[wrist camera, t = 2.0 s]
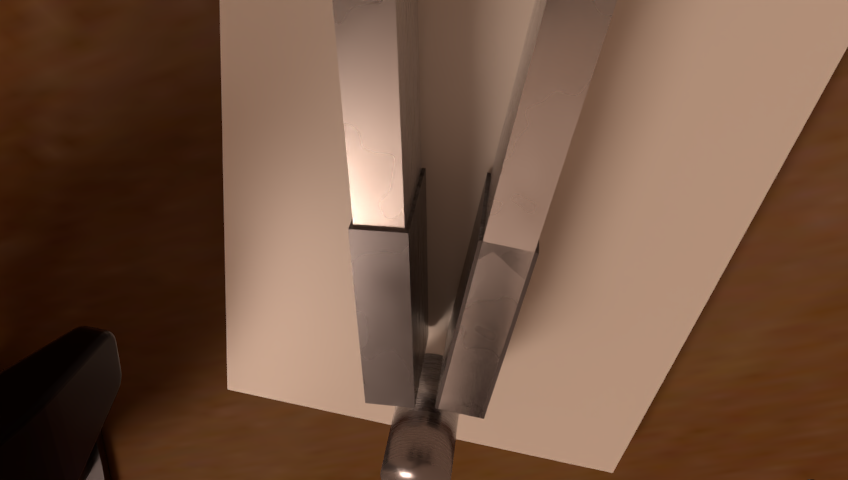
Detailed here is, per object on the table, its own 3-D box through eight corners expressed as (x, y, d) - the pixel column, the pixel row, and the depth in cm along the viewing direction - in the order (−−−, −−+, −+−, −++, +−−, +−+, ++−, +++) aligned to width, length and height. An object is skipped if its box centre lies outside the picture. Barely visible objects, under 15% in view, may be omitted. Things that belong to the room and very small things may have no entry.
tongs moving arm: (428, 334, 22) (414, 408, 20) (343, 327, 22) (320, 398, 20) (417, -304, 12) (388, -309, 10) (271, -301, 13) (210, -305, 11)
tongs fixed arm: (509, 412, 24) (503, 519, 21) (399, 388, 24) (376, 492, 21) (753, -258, 12) (824, -249, 9) (542, -300, 12) (540, -305, 9)
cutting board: (610, 449, 26) (612, 472, 25) (237, 368, 26) (227, 389, 25) (1048, -376, 12) (1084, -383, 11) (230, -537, 12) (208, -554, 11)
